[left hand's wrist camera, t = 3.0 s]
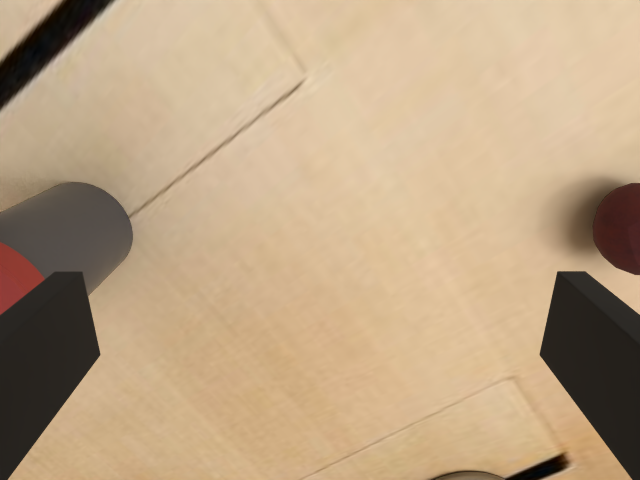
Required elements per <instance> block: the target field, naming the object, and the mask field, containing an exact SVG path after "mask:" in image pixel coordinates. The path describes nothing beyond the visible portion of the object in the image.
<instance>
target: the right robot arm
mask: <svg viewBox="0 0 640 480" xmlns="http://www.w3.org/2000/svg"><path fill="white" fill-rule="evenodd" d="M435 480H505V479H503V478H501V477H498V476H495V475H492V474H488V473H482V472H461V473H454V474H450V475H446V476H443V477H440V478H437V479H435Z"/></svg>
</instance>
